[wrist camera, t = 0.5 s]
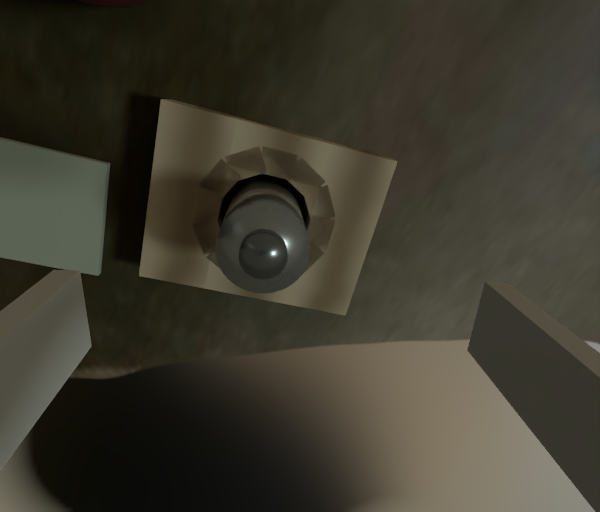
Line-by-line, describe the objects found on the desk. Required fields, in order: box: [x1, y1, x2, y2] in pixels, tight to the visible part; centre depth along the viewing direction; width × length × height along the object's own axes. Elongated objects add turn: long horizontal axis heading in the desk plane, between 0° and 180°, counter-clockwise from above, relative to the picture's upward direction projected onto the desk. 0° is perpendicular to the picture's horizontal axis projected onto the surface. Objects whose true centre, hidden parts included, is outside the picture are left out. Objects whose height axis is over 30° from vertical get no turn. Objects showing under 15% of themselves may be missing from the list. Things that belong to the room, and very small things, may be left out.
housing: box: [139, 99, 397, 315], centre depth 33 cm, size 18×14×3 cm
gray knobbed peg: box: [216, 176, 310, 294], centre depth 29 cm, size 6×6×11 cm
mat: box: [0, 137, 110, 276], centre depth 32 cm, size 10×10×1 cm
